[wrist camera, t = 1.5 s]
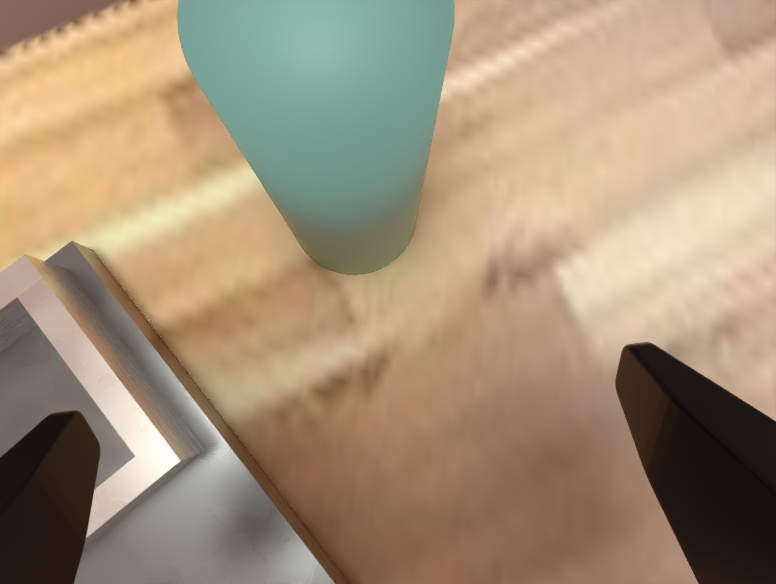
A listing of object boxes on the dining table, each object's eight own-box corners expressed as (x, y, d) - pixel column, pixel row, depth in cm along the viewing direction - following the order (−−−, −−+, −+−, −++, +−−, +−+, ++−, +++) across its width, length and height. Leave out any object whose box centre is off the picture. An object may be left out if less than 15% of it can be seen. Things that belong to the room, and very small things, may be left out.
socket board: (379, 622, 21) (378, 679, 17) (62, 904, 20) (-20, 1037, 16) (92, 249, 23) (31, 223, 19) (-215, 482, 22) (-349, 506, 18)
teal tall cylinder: (441, 221, 23) (511, 27, 10) (345, 300, 23) (292, 198, 10) (363, 130, 24) (336, -160, 11) (267, 205, 23) (122, -8, 10)
